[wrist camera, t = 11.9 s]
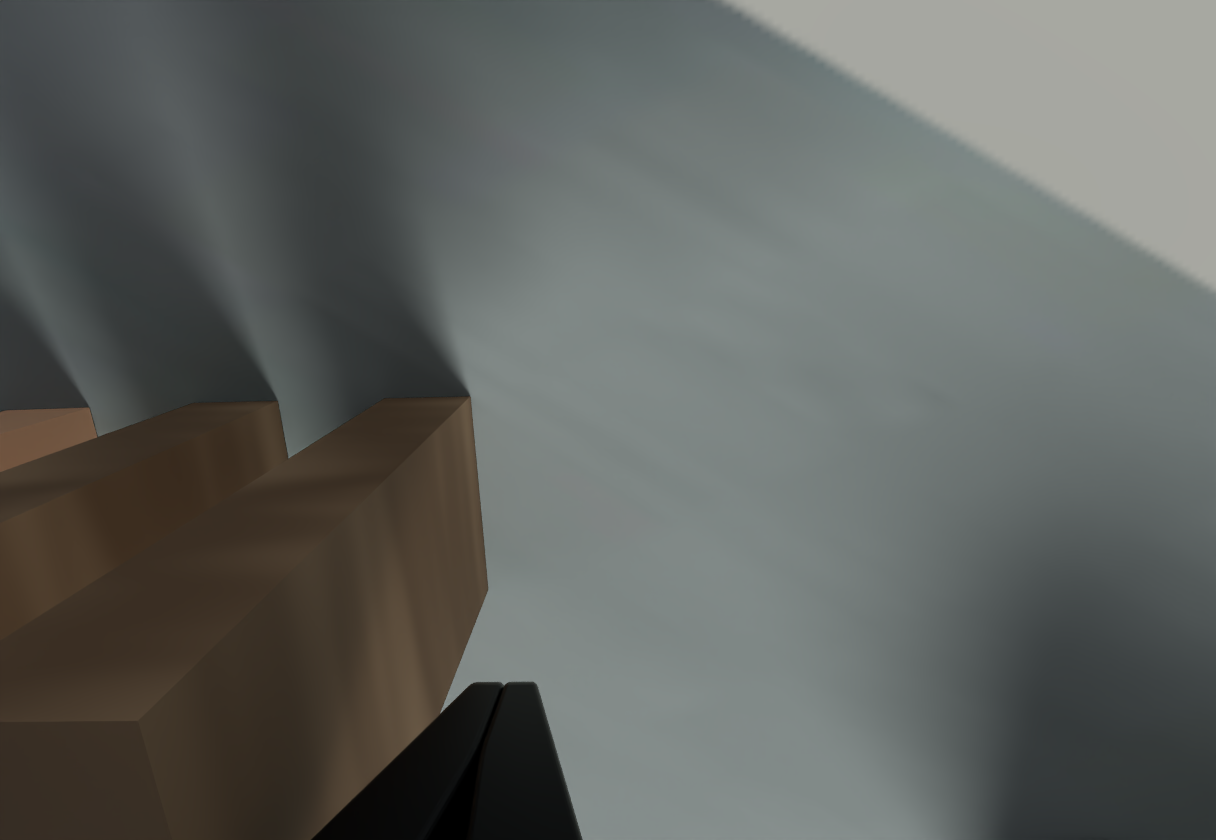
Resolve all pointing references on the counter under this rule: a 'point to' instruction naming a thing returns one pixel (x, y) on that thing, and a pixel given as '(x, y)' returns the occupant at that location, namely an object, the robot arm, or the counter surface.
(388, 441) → the domino
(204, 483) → the domino
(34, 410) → the domino
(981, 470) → the counter surface
